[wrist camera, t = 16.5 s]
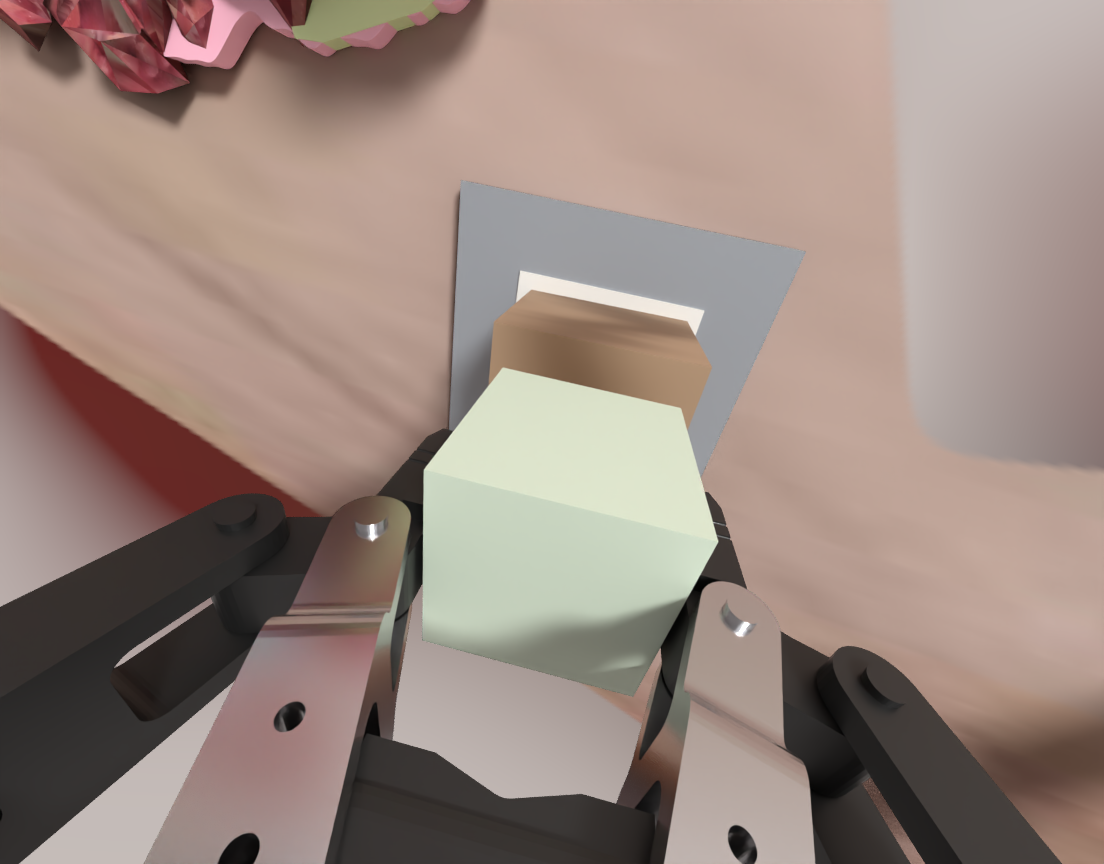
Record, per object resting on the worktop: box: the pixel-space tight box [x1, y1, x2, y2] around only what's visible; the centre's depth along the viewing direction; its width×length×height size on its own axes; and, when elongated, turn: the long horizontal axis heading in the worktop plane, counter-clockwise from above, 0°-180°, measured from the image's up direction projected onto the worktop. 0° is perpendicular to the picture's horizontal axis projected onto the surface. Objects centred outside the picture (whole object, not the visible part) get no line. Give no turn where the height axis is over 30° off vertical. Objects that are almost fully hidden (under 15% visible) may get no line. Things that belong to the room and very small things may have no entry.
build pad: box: [449, 180, 806, 478], centre depth 17 cm, size 12×12×1 cm
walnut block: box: [488, 290, 712, 430], centre depth 14 cm, size 6×6×5 cm
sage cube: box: [422, 368, 718, 697], centre depth 9 cm, size 4×4×4 cm
